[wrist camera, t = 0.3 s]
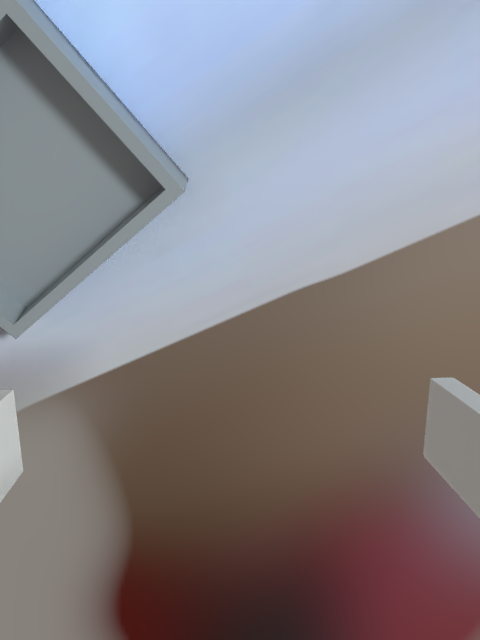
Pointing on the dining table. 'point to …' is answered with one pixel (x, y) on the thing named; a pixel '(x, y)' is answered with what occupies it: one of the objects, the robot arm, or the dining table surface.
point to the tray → (65, 168)
